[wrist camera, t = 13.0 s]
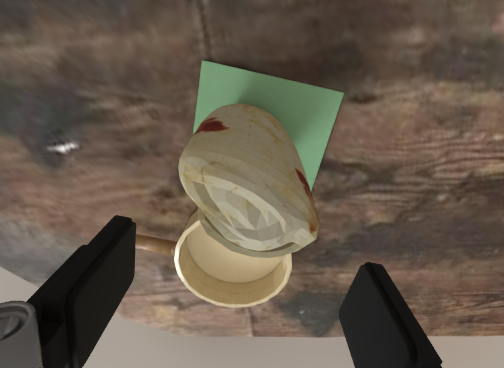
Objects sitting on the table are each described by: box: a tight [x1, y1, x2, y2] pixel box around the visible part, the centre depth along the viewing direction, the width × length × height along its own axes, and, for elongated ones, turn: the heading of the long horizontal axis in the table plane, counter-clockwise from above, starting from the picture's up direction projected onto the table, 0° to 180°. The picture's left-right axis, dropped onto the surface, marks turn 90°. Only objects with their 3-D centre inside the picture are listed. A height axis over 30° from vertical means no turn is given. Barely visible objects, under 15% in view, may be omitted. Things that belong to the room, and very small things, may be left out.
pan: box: [174, 210, 292, 308], centre depth 37 cm, size 15×15×4 cm
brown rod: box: [135, 234, 177, 255], centre depth 35 cm, size 8×2×2 cm, turn 78°
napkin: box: [193, 60, 344, 191], centre depth 32 cm, size 16×14×1 cm
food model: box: [178, 104, 319, 258], centre depth 22 cm, size 10×7×20 cm
